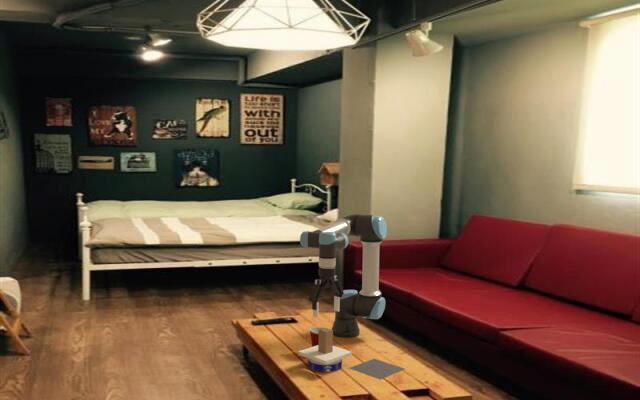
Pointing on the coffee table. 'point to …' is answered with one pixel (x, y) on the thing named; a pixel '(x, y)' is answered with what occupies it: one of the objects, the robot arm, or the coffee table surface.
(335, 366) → the dog bowl
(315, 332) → the plastic cup
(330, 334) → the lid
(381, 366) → the mat
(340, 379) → the coffee table surface
